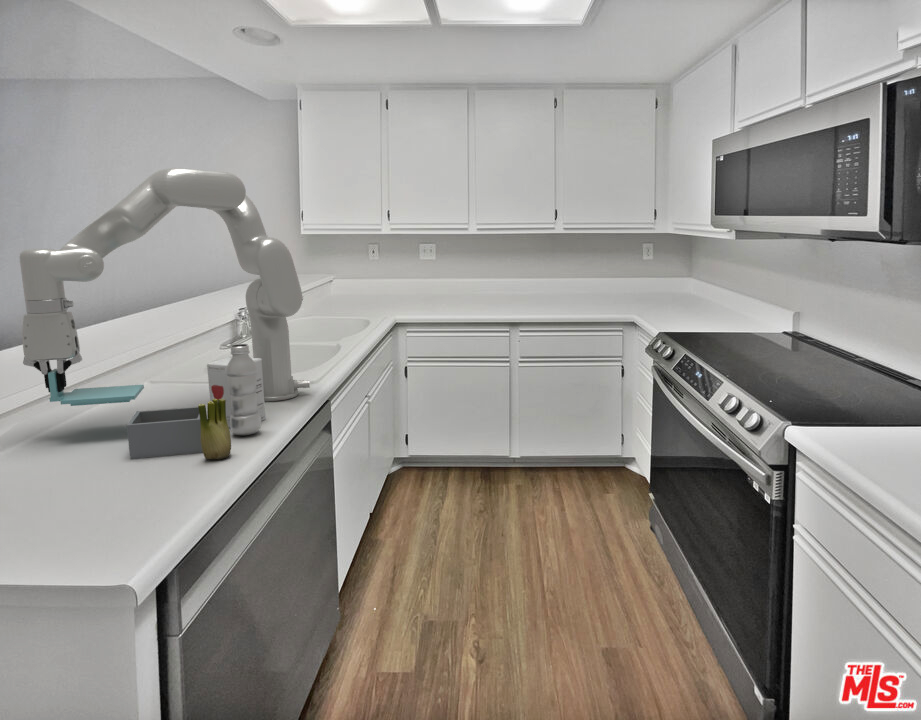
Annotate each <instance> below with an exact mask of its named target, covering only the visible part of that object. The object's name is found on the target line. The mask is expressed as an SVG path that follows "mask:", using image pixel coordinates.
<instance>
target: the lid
mask: <svg viewBox="0 0 921 720" xmlns="http://www.w3.org/2000/svg"><path fill="white" fill-rule="evenodd" d="M51 370H52V371H50V372H49V373H48V379H49V387H50V392H49V394H50V397H49V402H50V403H53V402H60V405H69V406H70V407H73V406H74V407H75V406H78V407H79V406H89V405H100V404H101V405H104V404H105V405H106V404H107V405H108V404H117V403H119V404H120V403H130V401H133V400H136V398H138V396H139V395H140V394H141V393H142V391H143V390H144V388H145V384H132V385H131V384H130V385H116V386H115V385H113V386H102V387H101V386H99V387H98V386H96V387H83V388H82V387H81V388H74V389H73V390H72V391H67V392H64V390H63V391H61V392H58V389H57V381H56V374H57V368H54V369H51Z"/></svg>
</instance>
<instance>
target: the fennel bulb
mask: <svg viewBox="0 0 921 720" xmlns="http://www.w3.org/2000/svg"><path fill="white" fill-rule="evenodd" d="M205 406H206V404H205V403H199V404H198V406H197V407H198V408H199V415H200V426H201V446H202V451H203V452H202V453H203V456H204V458H205V460H214V461H215V460H217V461H218V460H223V459H226V458H228V457H229V456H230V455H231V450H232V439H231V437H232V436H231V430H230V428H229V427H228V424H227V419H226V400H225V399H219V400H218V399H212V401H210V400H209V401H208V402H207V407H206V408H205Z"/></svg>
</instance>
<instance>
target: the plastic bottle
mask: <svg viewBox="0 0 921 720" xmlns="http://www.w3.org/2000/svg"><path fill="white" fill-rule="evenodd" d="M249 354H251V353H250V348H249V344H247V343H237V344H232V345H230V355H231V357H232V358H231V360H230V361H229V363H228V365H227V368H226V375H227V379H228V383H229V388H230V394H231V415H230V428H229V429H230V432H231V433H233V434H234V435H235V436H250V435H253V434H256V433H258V432H259V431H260V429H261V425H262V421H261V418H260V414H259V412H258V405H257V399H256V382H257V366H256V364H255V362H254V361H253V360H252V359H251V358H252V357H251V356H250V355H249Z"/></svg>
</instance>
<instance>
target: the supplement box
mask: <svg viewBox="0 0 921 720" xmlns="http://www.w3.org/2000/svg"><path fill="white" fill-rule="evenodd" d="M231 358H232V356H228V357H224V358H221V359H218V360H214V361H210V362H208V363H207V364H206V368H207V378H208V389H209V390H208V391H209V392H208V393H209V401H212V399H218V400H219V399H225V400H226V419H227V424H228V427H229V429H231V428H230V415H231V394H230V388H229V383H228V379H227V375H226V368H227V365H228V363H229V361H230V360H231ZM250 358H251V359H252V360H253V361H254V362H255V364H256V366H257V382H256V399H257V405H258V412H259V414H260V418H261V422H262V421H265V420H266V411H265V408H266V407H265V401H264V391H263V375H262V359H261V358H253V357H250Z"/></svg>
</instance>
